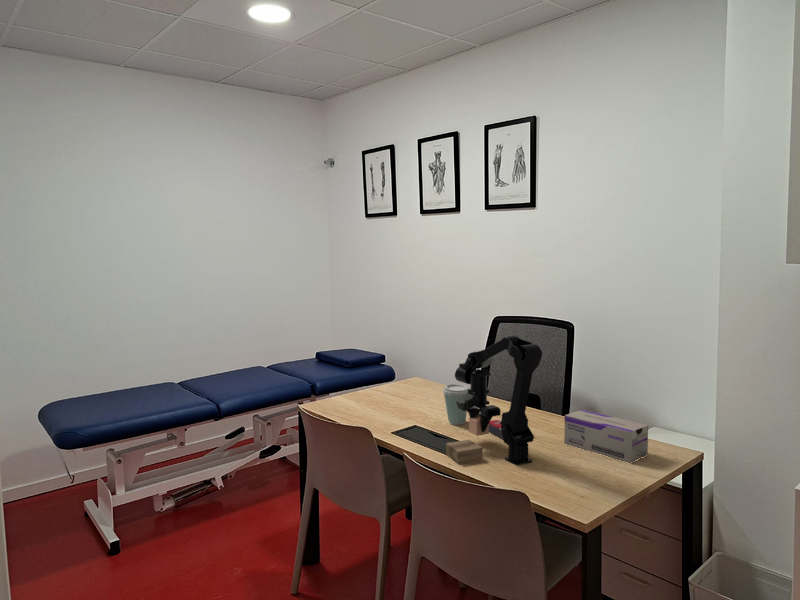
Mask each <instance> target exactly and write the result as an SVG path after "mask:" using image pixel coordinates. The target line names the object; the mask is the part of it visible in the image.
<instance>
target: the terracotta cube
mask: <svg viewBox="0 0 800 600" xmlns="http://www.w3.org/2000/svg"><path fill="white" fill-rule="evenodd" d="M468 428H469V429H468V433H470V434H472V435H475V437H480V436H483V435H489V424H488V426H487V428H486V430H485V432H482V431H481V423H480V417H474V418H470V417H469V418H468Z"/></svg>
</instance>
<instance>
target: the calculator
mask: <svg viewBox="0 0 800 600" xmlns="http://www.w3.org/2000/svg"><path fill="white" fill-rule="evenodd" d="M501 420H502V418H500V419H495V420H490V422H489V433H490V434H491V435H494V436H496V437H497V438H498V439H500V440H502V441H503V442H504V440H503V435H502V431H501V424H500V423H501ZM529 429H530V430H531V428H530V427H529ZM518 437H521V436H517V437H514V438H518Z"/></svg>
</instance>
